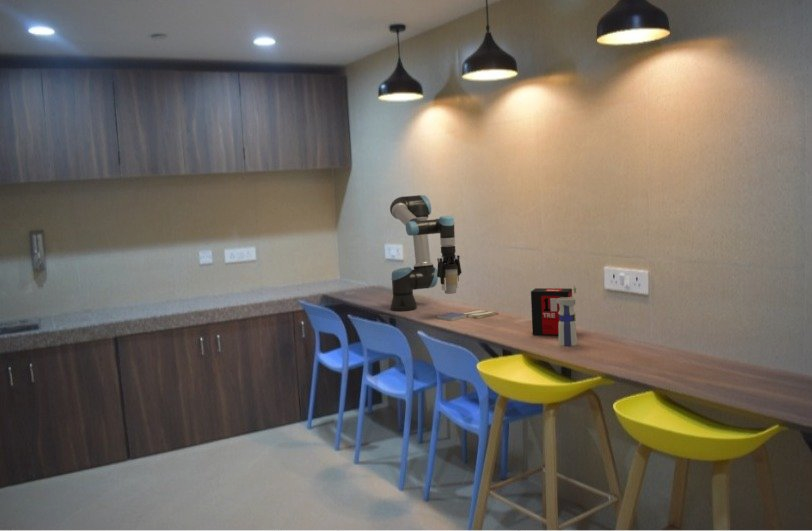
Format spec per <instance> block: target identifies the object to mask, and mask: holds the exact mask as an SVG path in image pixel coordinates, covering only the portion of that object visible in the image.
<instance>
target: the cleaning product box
mask: <svg viewBox="0 0 812 531" xmlns="http://www.w3.org/2000/svg"><path fill="white" fill-rule="evenodd" d="M562 297H572V298H573V288H564V287H563V288H559V287H558V288H556V287H555V288H548V287H547V288H539V287H538V288H534V289H533V290H530V301H531V302H530V304H531V325H532V336H545V337H547V336H548V337H559V328H558V325H559V314H558V312H559V310H560V307H559V304H558V303H557V299H558V298H562Z"/></svg>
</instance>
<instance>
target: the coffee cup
mask: <svg viewBox="0 0 812 531" xmlns="http://www.w3.org/2000/svg"><path fill="white" fill-rule="evenodd" d="M457 268H458V266H457V264H450V263H449V264H448V265H443V267H442V269H444V270H445V272H446V273H445V277H444V278H446V291H445V290H444V294H447V295H451V294H452V295H453V294H456V293H457V289H458V288H457V274H458V273H457Z"/></svg>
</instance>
